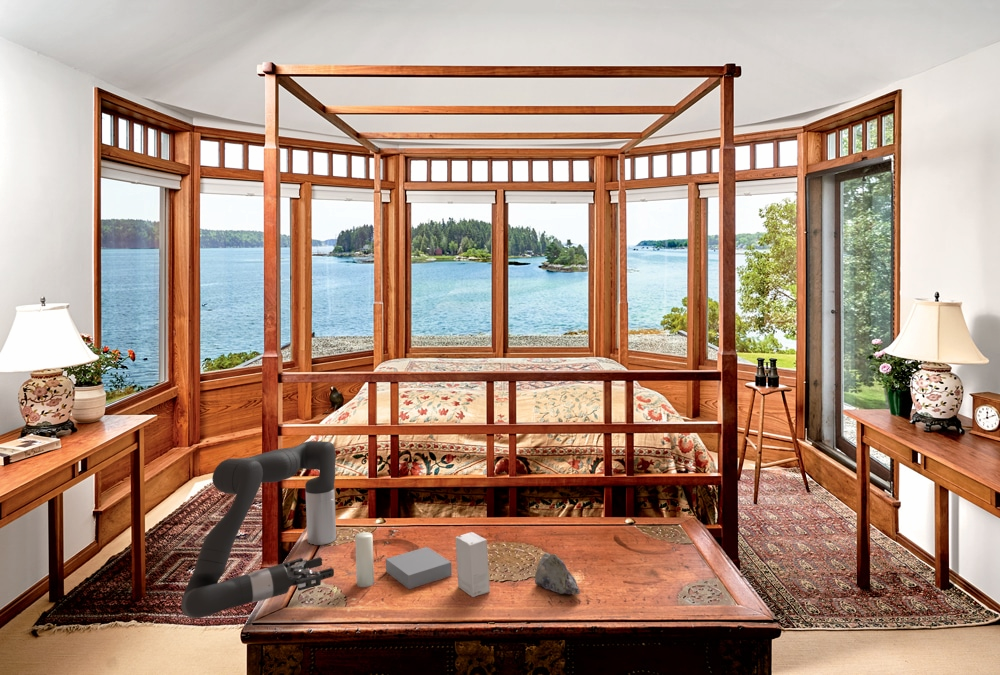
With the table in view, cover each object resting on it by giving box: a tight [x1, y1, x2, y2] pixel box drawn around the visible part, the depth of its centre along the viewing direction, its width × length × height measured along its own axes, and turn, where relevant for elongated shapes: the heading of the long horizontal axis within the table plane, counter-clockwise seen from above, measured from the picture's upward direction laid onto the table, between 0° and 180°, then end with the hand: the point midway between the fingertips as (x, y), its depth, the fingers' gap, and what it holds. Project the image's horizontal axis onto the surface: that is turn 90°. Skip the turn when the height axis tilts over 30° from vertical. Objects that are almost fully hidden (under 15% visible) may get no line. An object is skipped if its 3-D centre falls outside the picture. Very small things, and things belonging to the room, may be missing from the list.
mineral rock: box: [534, 552, 581, 596], centre depth 179 cm, size 13×11×10 cm
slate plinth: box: [385, 546, 453, 590], centre depth 191 cm, size 14×14×4 cm
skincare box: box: [455, 531, 491, 598], centre depth 180 cm, size 8×6×15 cm
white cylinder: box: [354, 531, 375, 588], centre depth 185 cm, size 5×5×14 cm
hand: (327, 566), depth 178 cm, fingers open, 8 cm apart
